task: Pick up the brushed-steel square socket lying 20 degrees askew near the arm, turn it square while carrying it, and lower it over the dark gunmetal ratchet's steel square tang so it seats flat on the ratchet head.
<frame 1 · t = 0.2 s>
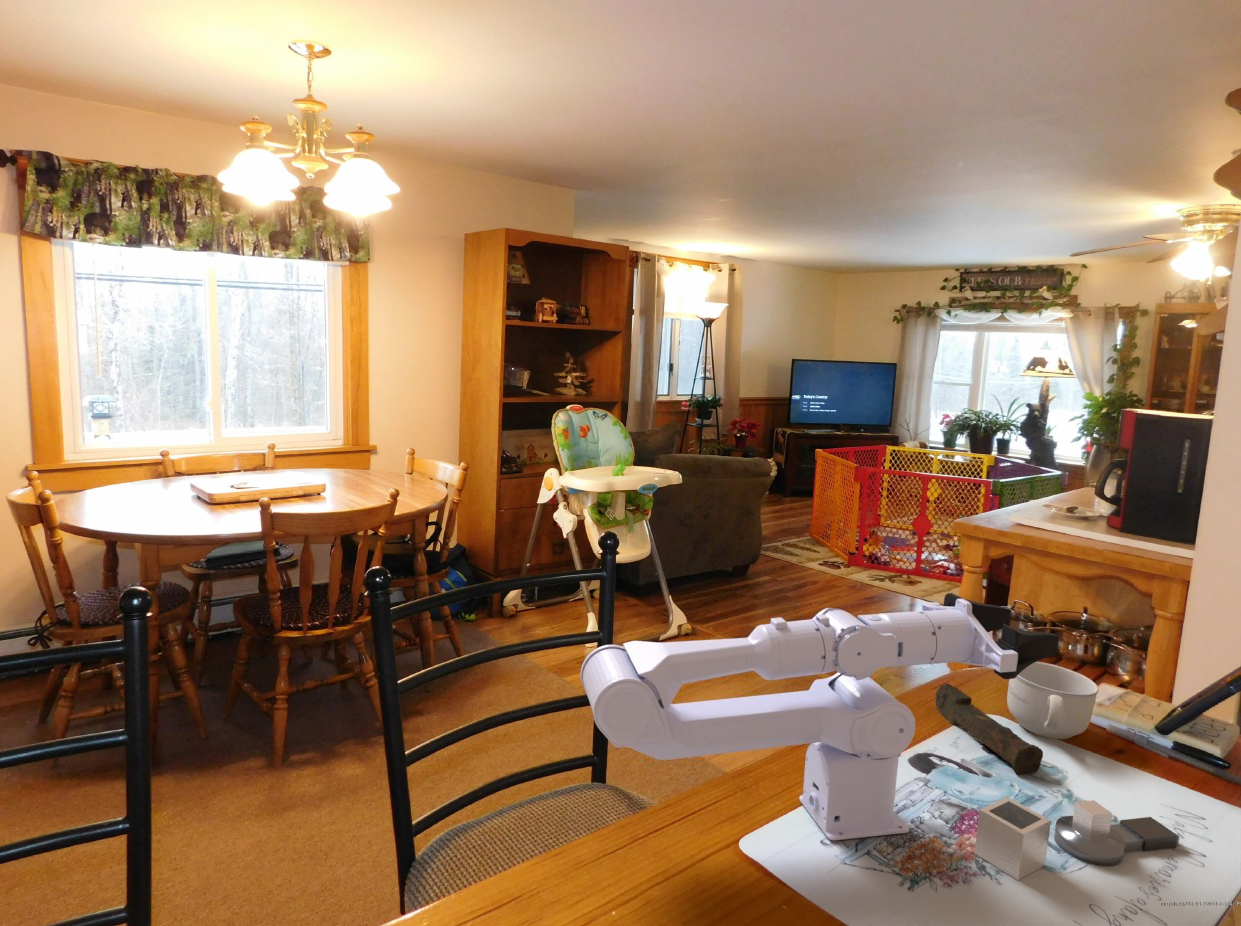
hand: (1031, 630, 89), 21 cm above the table, tool horizontal, fingers open, 7 cm apart
socket: (1009, 859, 82), on the table
teacup: (1045, 734, 110), on the table
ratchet: (1087, 847, 85), on the table
brown wooden log: (975, 741, 108), on the table
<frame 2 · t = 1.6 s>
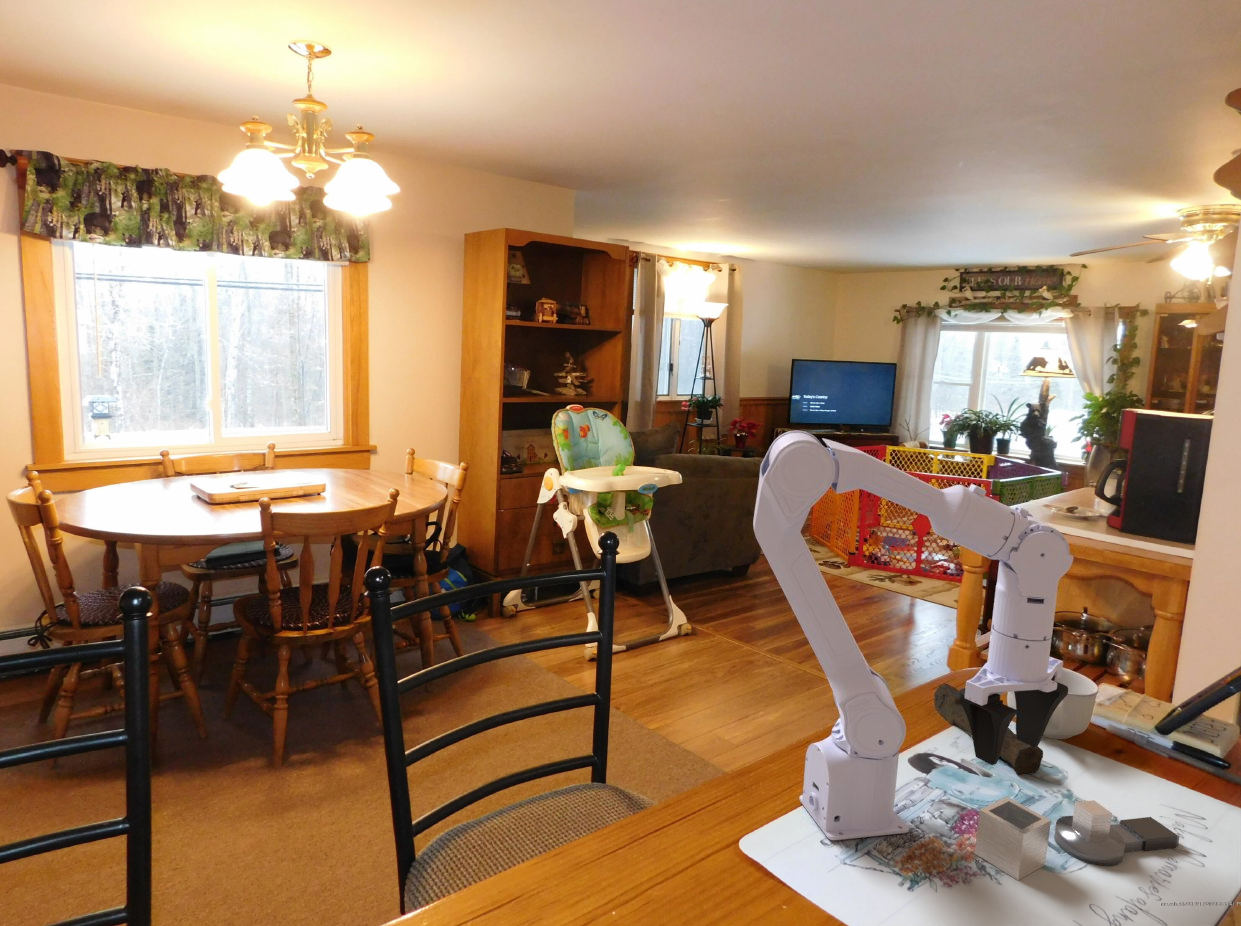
hand: (1007, 751, 86), 9 cm above the table, tool pointing down, fingers open, 7 cm apart
nothing on the table moved.
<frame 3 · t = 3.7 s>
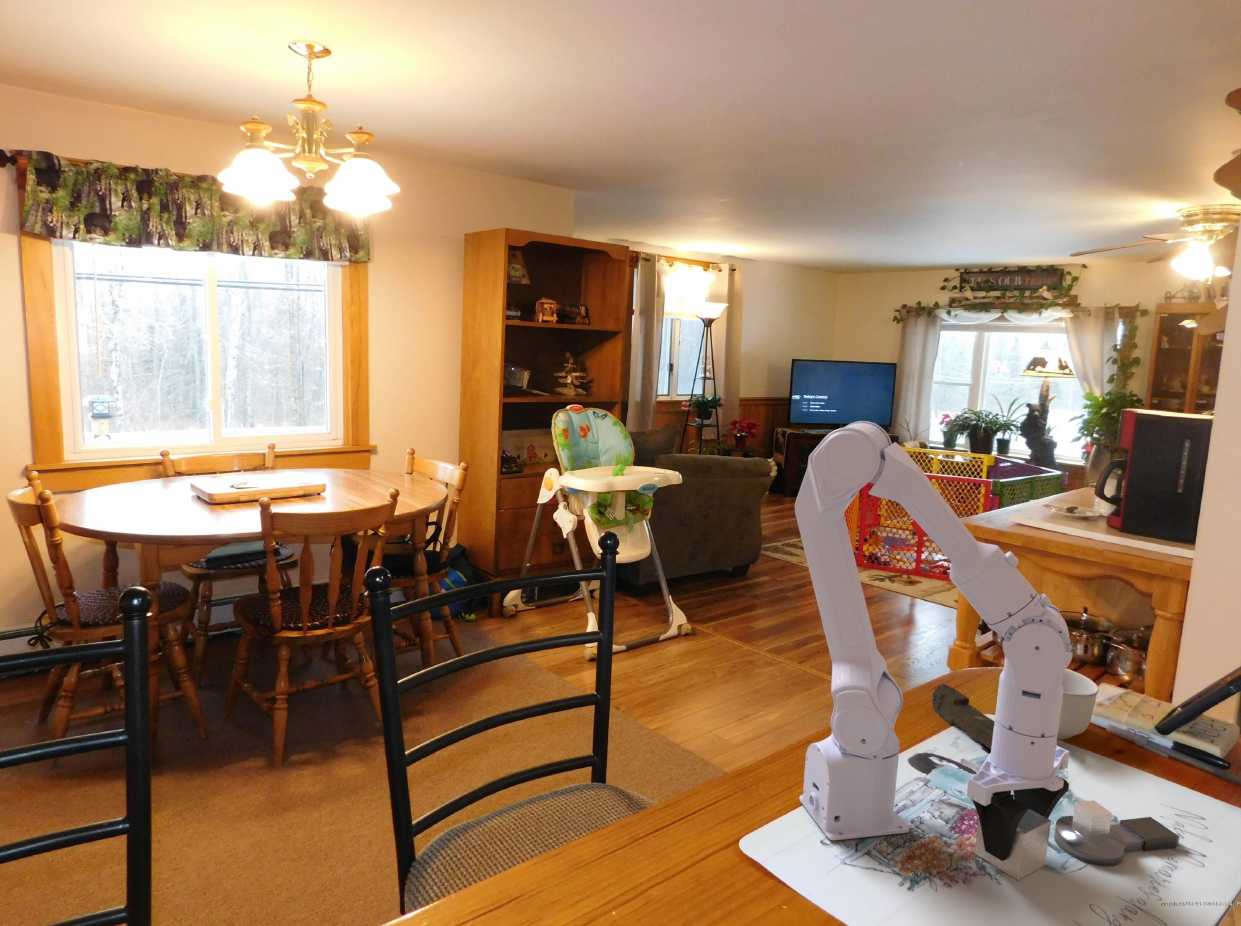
hand: (1011, 846, 82), 1 cm above the table, tool pointing down, fingers closed on socket, 5 cm apart
socket: (1009, 859, 82), on the table, touching gripper
everything else where it was.
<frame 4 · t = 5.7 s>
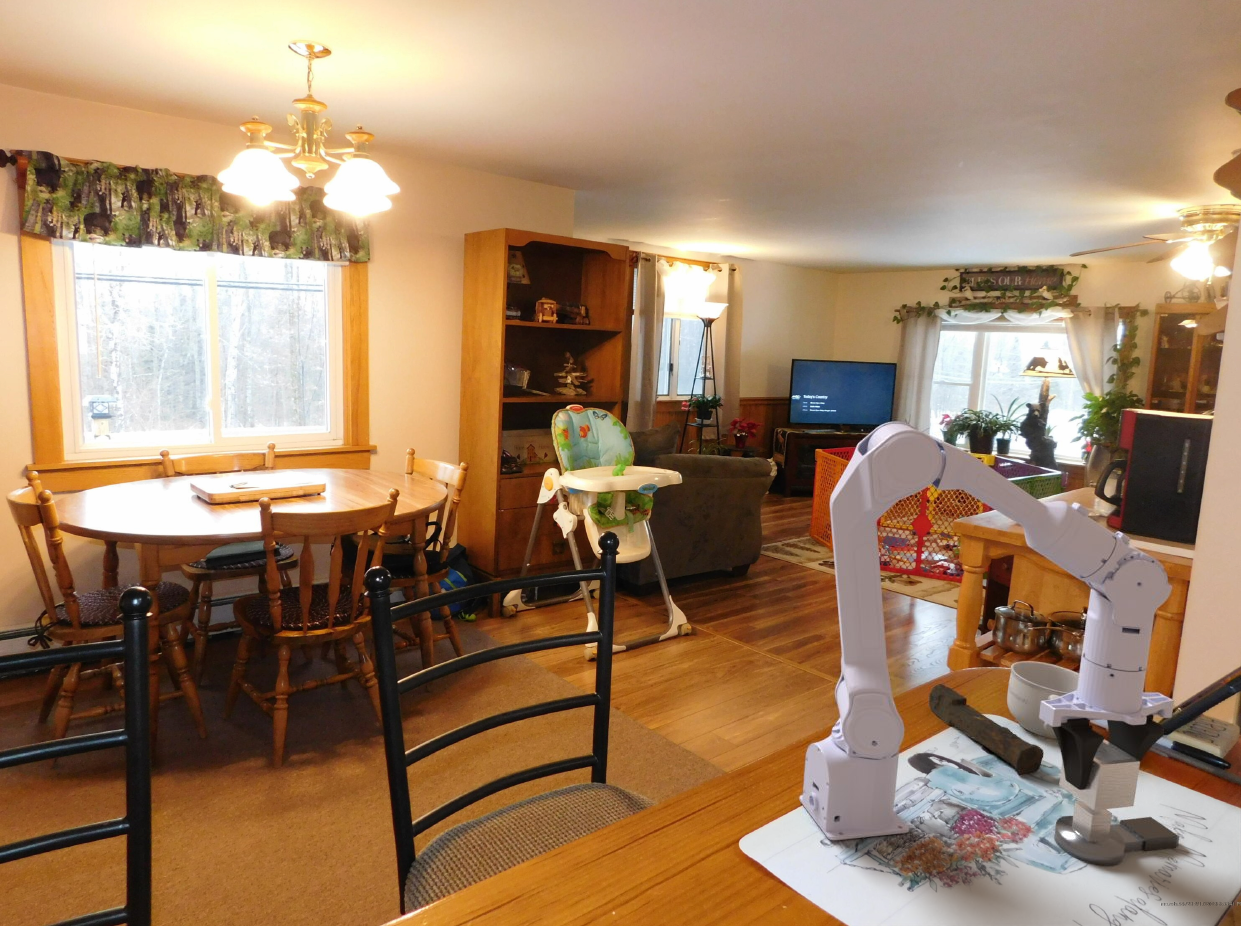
hand: (1096, 782, 84), 7 cm above the table, tool pointing down, fingers closed on socket, 5 cm apart
socket: (1095, 795, 84), point 6 cm above the table, touching gripper
everything else where it was.
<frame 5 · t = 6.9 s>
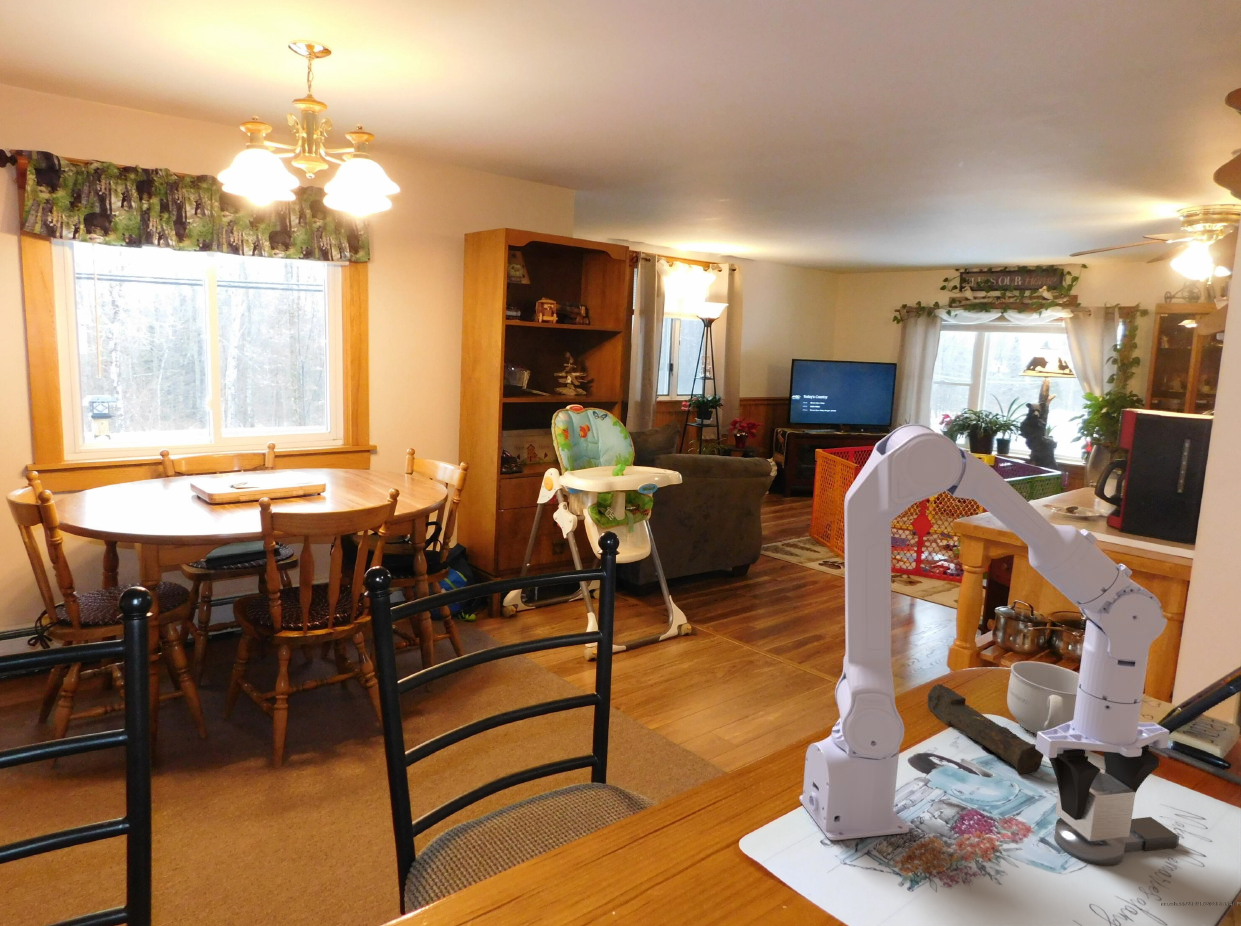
hand: (1092, 812, 84), 4 cm above the table, tool pointing down, fingers closed on socket, 5 cm apart
socket: (1091, 824, 84), point 3 cm above the table, touching gripper
everything else where it was.
when the fingers open (4 cm above the table, at t = 7.7 s): socket drops 1 cm, resting on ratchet.
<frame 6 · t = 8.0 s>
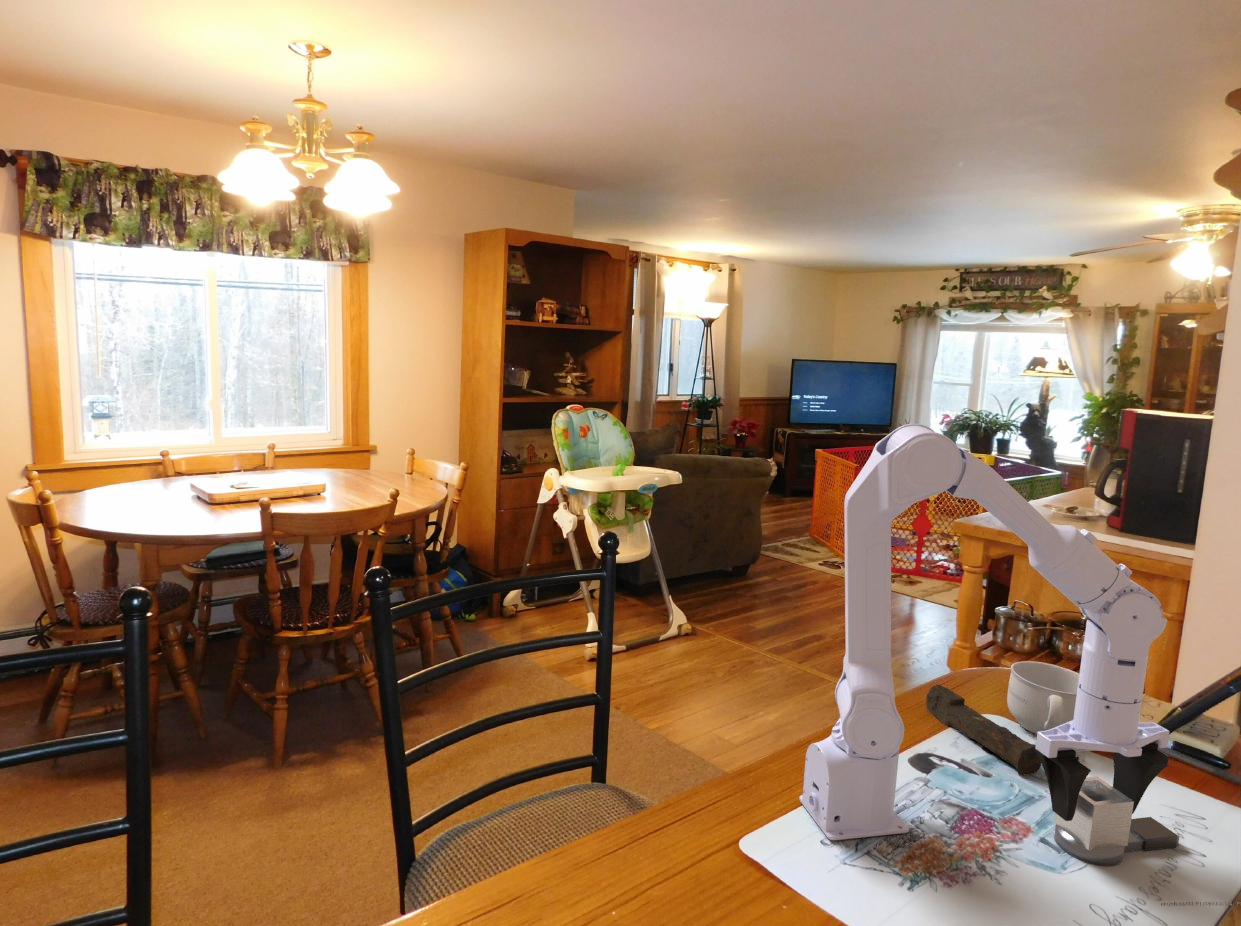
hand: (1092, 812, 84), 4 cm above the table, tool pointing down, fingers open, 7 cm apart
socket: (1090, 833, 85), point 2 cm above the table, touching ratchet
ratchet: (1087, 847, 85), on the table, touching socket
everything else where it was.
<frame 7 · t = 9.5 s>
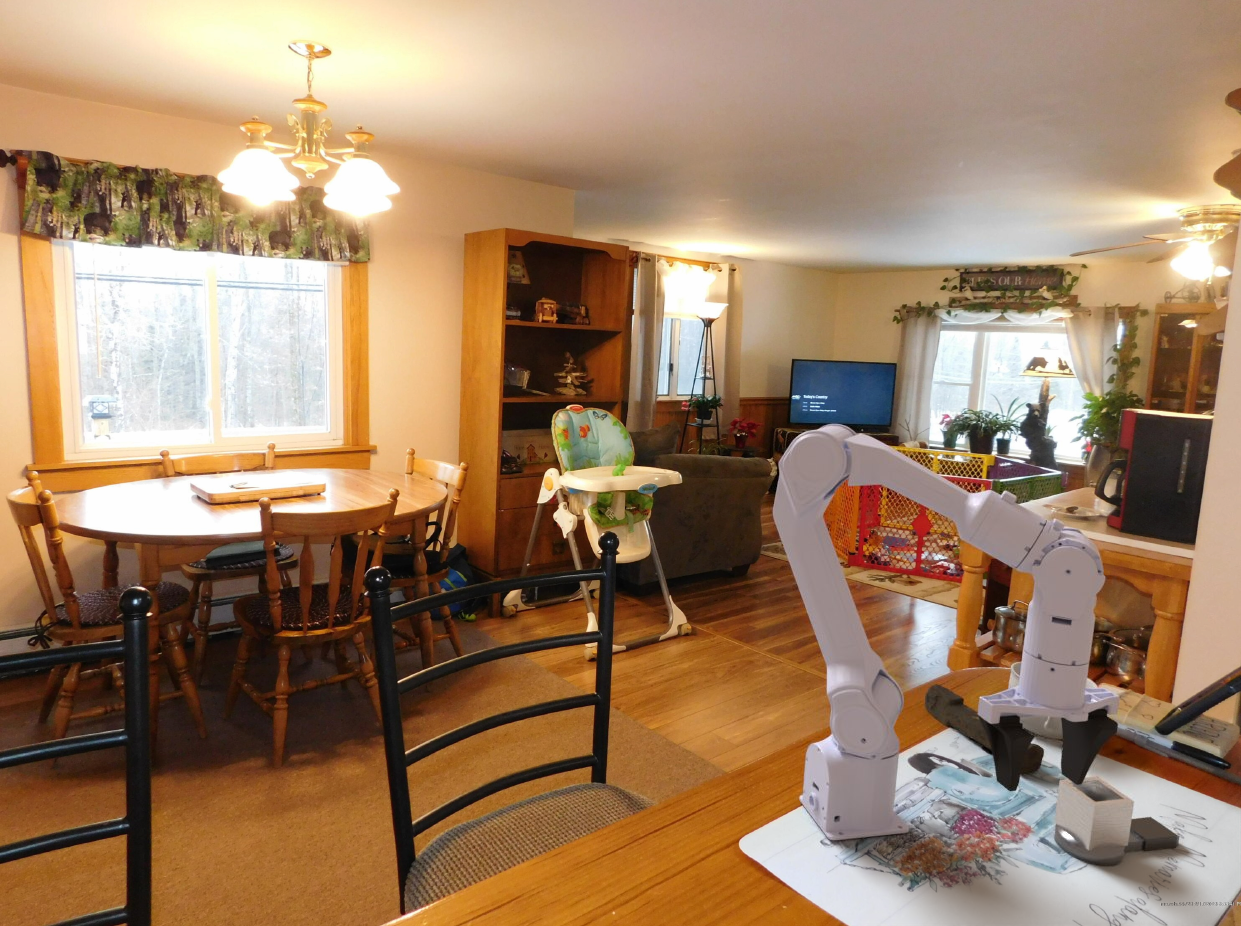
hand: (1039, 782, 80), 9 cm above the table, tool pointing down, fingers open, 7 cm apart
socket: (1090, 833, 85), point 2 cm above the table
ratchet: (1087, 847, 85), on the table
everything else where it was.
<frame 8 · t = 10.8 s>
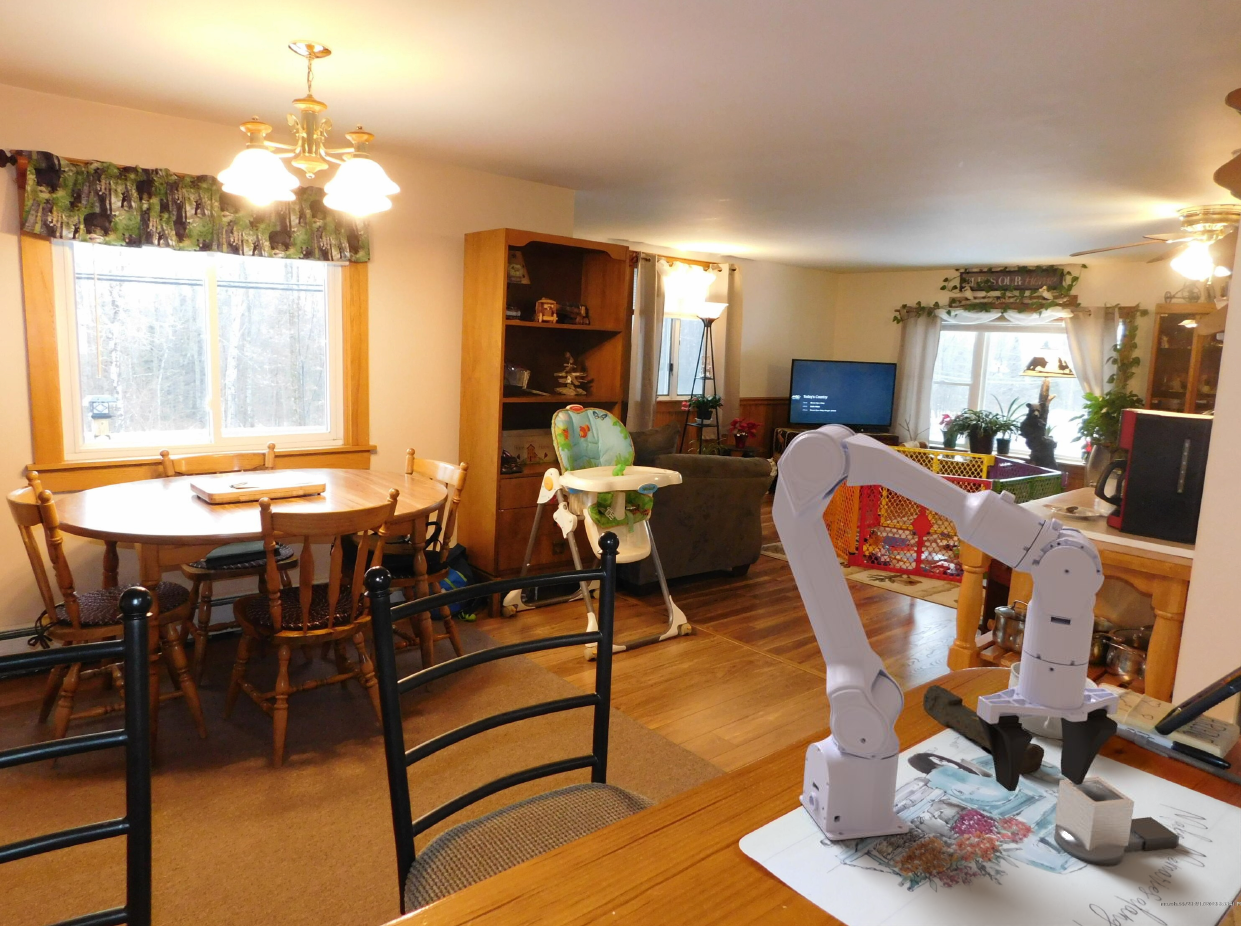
hand: (1038, 782, 80), 9 cm above the table, tool pointing down, fingers open, 7 cm apart
socket: (1090, 834, 85), point 1 cm above the table, touching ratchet
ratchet: (1087, 847, 85), on the table, touching socket
at the end: socket 0.0 cm off-centre on the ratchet, point 1.6 cm above the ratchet's base; socket tilted 0°; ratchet moved 0.1 cm from its start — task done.
